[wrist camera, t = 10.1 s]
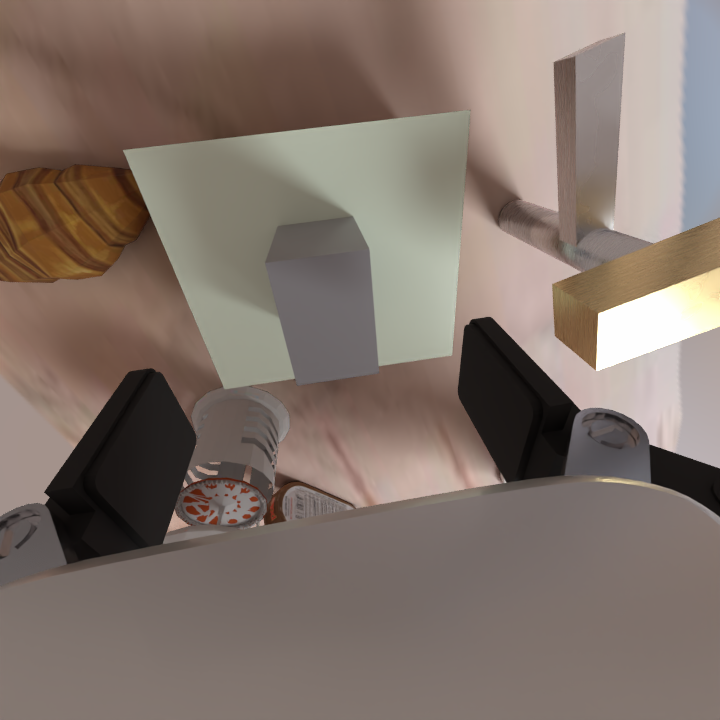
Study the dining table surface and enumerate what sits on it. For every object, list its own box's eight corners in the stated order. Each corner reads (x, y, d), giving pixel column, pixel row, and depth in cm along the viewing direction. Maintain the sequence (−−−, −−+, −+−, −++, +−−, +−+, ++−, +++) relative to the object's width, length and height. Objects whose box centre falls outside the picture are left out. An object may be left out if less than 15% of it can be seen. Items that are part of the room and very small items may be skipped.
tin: (266, 482, 41) (256, 554, 34) (281, 468, 40) (275, 539, 33) (356, 519, 48) (364, 584, 41) (371, 508, 47) (382, 573, 40)
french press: (278, 377, 32) (220, 809, 12) (302, 456, 39) (292, 819, 18) (174, 394, 32) (-72, 869, 11) (217, 470, 38) (110, 858, 18)
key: (571, 211, 26) (822, 289, 13) (461, 257, 27) (596, 370, 14) (570, 40, 20) (1011, -114, 8) (429, 107, 21) (608, 73, 9)
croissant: (119, 119, 20) (71, 116, 16) (193, 226, 24) (169, 245, 20) (-49, 216, 22) (-131, 236, 18) (44, 301, 26) (-6, 334, 22)
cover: (458, 111, 17) (542, 100, 11) (445, 344, 25) (489, 414, 19) (137, 148, 16) (31, 159, 10) (228, 376, 24) (201, 459, 18)
